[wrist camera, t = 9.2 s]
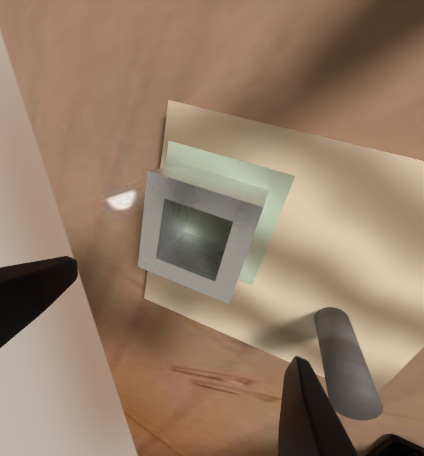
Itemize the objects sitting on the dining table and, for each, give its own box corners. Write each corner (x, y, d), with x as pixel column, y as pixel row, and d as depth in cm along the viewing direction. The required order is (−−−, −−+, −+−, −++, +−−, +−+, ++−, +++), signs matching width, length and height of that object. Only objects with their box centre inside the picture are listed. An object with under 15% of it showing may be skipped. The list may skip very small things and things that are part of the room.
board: (366, 381, 19) (410, 506, 13) (152, 289, 23) (99, 347, 17) (539, 190, 12) (882, 252, 5) (178, 103, 16) (100, 73, 9)
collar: (241, 266, 17) (228, 304, 13) (169, 239, 18) (137, 266, 14) (268, 189, 14) (263, 207, 10) (182, 163, 15) (147, 170, 11)
